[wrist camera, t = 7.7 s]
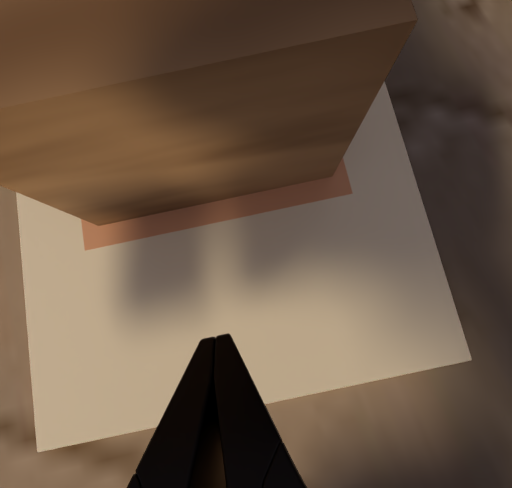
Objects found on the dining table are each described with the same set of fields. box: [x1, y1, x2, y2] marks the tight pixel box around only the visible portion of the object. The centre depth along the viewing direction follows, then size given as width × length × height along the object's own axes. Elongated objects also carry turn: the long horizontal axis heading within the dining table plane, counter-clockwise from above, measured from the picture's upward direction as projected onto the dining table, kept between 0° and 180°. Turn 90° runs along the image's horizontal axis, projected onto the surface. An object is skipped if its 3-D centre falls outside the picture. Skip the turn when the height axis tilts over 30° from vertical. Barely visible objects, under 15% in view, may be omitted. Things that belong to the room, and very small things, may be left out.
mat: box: [16, 81, 472, 452], centre depth 16 cm, size 25×20×1 cm
